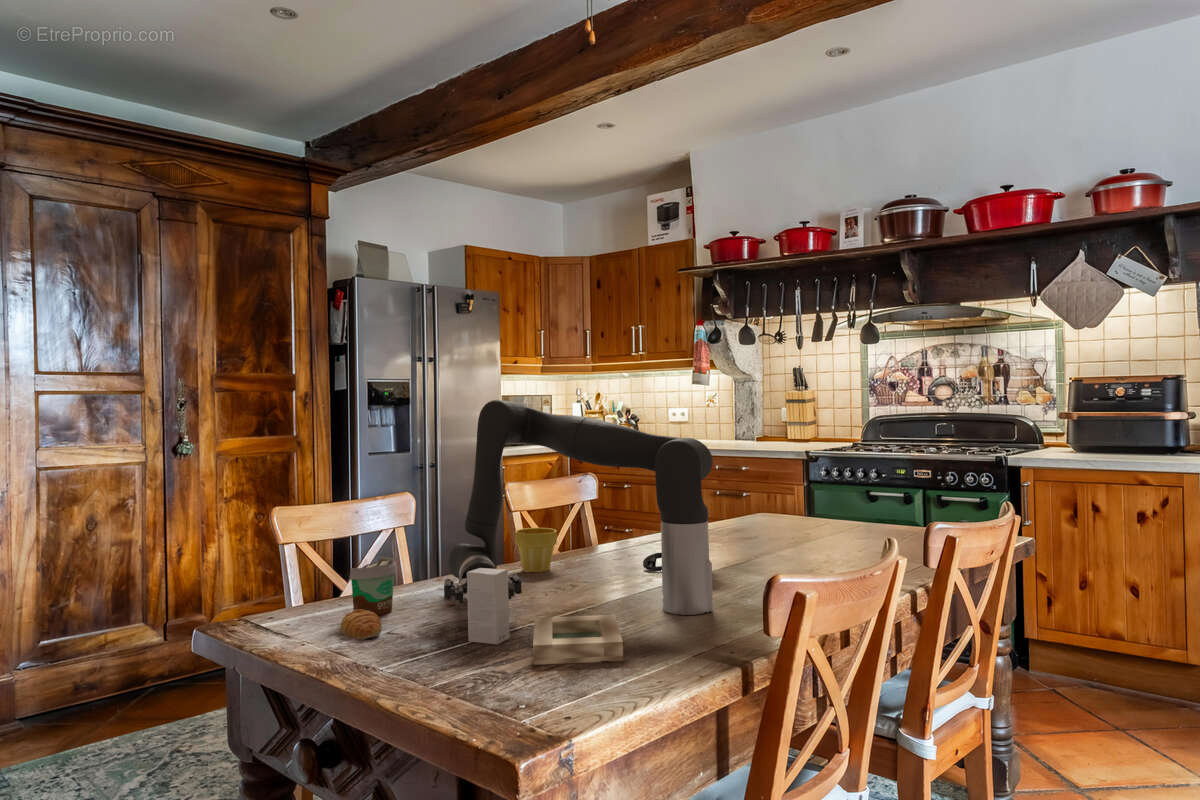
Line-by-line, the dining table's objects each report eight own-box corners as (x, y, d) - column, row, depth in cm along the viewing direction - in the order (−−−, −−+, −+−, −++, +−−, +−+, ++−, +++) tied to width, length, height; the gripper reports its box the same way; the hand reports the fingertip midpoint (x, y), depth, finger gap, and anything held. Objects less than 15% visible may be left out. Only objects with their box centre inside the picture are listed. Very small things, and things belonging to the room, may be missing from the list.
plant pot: (561, 566, 196) (560, 527, 196) (552, 575, 186) (551, 534, 186) (521, 565, 198) (521, 527, 198) (510, 574, 188) (509, 533, 188)
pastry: (390, 637, 138) (390, 615, 138) (352, 645, 134) (352, 622, 134) (373, 625, 146) (372, 605, 146) (336, 632, 142) (336, 611, 142)
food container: (380, 622, 147) (379, 569, 148) (350, 621, 149) (349, 568, 149) (408, 605, 160) (407, 556, 160) (381, 604, 161) (380, 556, 161)
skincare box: (510, 638, 135) (509, 569, 135) (497, 645, 131) (495, 574, 131) (481, 634, 138) (479, 567, 138) (467, 641, 134) (465, 571, 134)
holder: (615, 631, 138) (614, 614, 138) (623, 661, 122) (622, 641, 122) (535, 634, 137) (535, 617, 137) (533, 664, 121) (532, 645, 121)
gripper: (441, 560, 153) (444, 577, 138) (514, 555, 157) (524, 571, 141) (442, 598, 153) (445, 619, 137) (514, 593, 157) (525, 613, 141)
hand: (485, 595), depth 139 cm, fingers open, 8 cm apart
